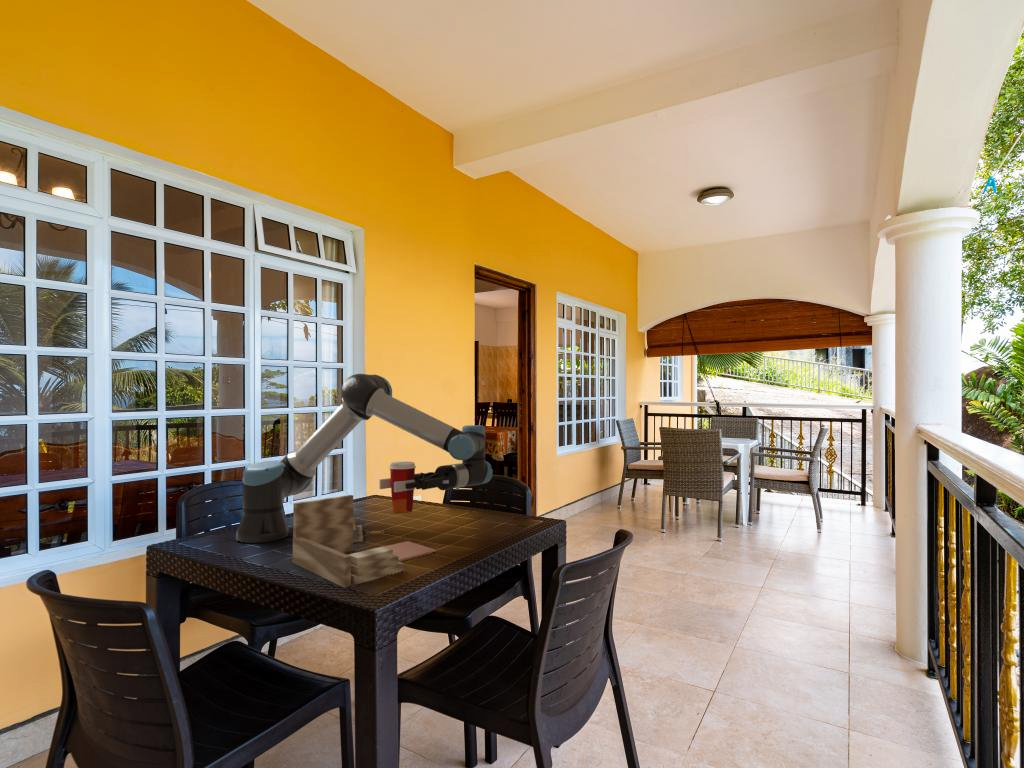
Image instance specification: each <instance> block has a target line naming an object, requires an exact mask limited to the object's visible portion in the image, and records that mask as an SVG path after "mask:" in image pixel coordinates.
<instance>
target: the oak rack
mask: <svg viewBox="0 0 1024 768" xmlns="http://www.w3.org/2000/svg"><path fill="white" fill-rule="evenodd" d="M292 504H293V507H292V508H293V514H292V515H293V517H292V519H293V522H292V523H293V526H292V527H293V529H292V530H293V533H292V564H295V566H296V565H297V566H299V567H301V568H302V569H305V570H307V571H309V572H310V573H313V574H315V575H317V576H319V577H322V578H323V579H326V580H328V581H329V582H331V583H334V584H335V585H338V586H339V587H342V588H344V589H345V588H348V587H349V588H350V587H351V585H352V584H351V556H349V555H348V554H346V553H349V552H353V551H354V543H353V518H354V494H353V495H352V494H346V495H340V496H333V497H326V498H321V499H320V498H319V499H314V500H313V499H312V500H306V501H299V502H293V503H292Z"/></svg>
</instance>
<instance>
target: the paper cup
mask: <svg viewBox="0 0 1024 768" xmlns="http://www.w3.org/2000/svg"><path fill="white" fill-rule="evenodd" d="M389 465H390V466H388V469H389V472H390V474H389V475H390V478H391V488H390V492H391V506H392V513H393V514H401V515H402V514H409V513H412V512H413V510H414V509H413V507H414V505H413V504H414V493H415V492H414V491H415V489H414V490H407V491H401V492H394V482H399V481H407V480H414V476H415V474H416V472H415V471H416V468H417V466H416V465H415V462H413V461H394V462H391V463H390V464H389Z"/></svg>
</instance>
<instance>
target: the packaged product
mask: <svg viewBox="0 0 1024 768" xmlns="http://www.w3.org/2000/svg"><path fill="white" fill-rule="evenodd" d="M363 541H364V533H363V526H362V524H360V525H359V524H358V525H357V520H356V518H355V517H353V544H354V543H363Z"/></svg>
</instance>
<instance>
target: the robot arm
mask: <svg viewBox="0 0 1024 768" xmlns="http://www.w3.org/2000/svg"><path fill="white" fill-rule="evenodd" d="M340 390H341V393H340V395H341V400H342V401H341V404H340V405H339V406H338V407H337V409H336V408H335V409H336V410H335V411H334V412H333V413H332V414H331V415H329V417H328V418H327V419H326V420H325V421H324V422H323V423H322V424H320V426H319V427H318V428H317V429H316V430H315V431H314V432H313V433H312V434H311V435H310V437H309V438H307V440H306V441H305V442H304V443H303V444H302V445H301V446H299V448H298V449H297V450H296V451H289V452H288V453H287V454H286V455H285V456H284V457H283V458H282V459H281V460H280V461H277V460H267V461H261V462H255V463H251V464H248V465H247V466H245V468H244V469H243V473H242V476H243V477H242V480H241V481H242V516H241V518H240V520H239V524H238V527H237V530H236V533H235V540H236V541H237V542H238V541H240V542H239V543H243V542H245V544H257V543H258V544H259V543H267V542H268V543H270V542H275V541H278V540H281V539H282V540H283V539H284V538H286V537H288V536H289V526H288V524H287V520H286V517H285V514H284V509H283V505H284V503H283V501H284V499H285V498H288V497H292V496H295V495H298V494H301V493H302V492H304V491H305V490H306V489H308V488H309V486H310V485H311V484H312V480H313V477H314V476H315V475H316V473H317V467H318V466H319V465H320V464H321V463H322V462H323V461H324V460H325V459H326V458H327V457H328V456H329V455H330V454H331V452H332V451H333V450H334V449H336V447H338V445H339V444H340V443H341V442H342V441H343V440H344V439H345V438H347V436H348V435H349V434H350V433H351V432H352V431H353V430H354V428H356V427H357V426H358V425H359V424H360V422H361V421H369V420H370V419H371V418H372V417H373V416H374V417H377V418H378V419H381V420H382V421H384V422H387V423H389V424H391V425H393V426H395V427H397V428H399V429H401V430H402V431H405V432H407V433H409V434H411V435H413V436H415V437H417V438H419V439H421V440H424V441H425V442H427V443H429V444H431V445H433V446H435V447H437V448H439V449H441V450H443V451H445V452H447V453H449V455H450V456H451V457H452V458H453V459H454V460H457V461H462V462H461V463H460V462H459V463H452V464H445V465H439V466H437V468H436V469H435V471H429V472H419V473H415V476H414V480H407V481H399V482H394V492H401V491H407V490H414V491H415V490H420V489H421V490H422V491H425V490H431V489H434V488H438V489H439V490H440V491H448V490H453V489H455V490H457V491H458V490H460V488H466V487H473V486H479V485H484V484H487V483H489V482H490V481H491V480H492V477H493V472H494V470H493V469H492V465H491V463H490V462H489V461H486V437H487V436H486V428H485V426H484V425H473V424H471V425H470V424H469V425H467V424H466V425H464V426H462V428H461V430H460V429H458V428H455V427H454V426H451V425H450V424H448V423H446V422H444V421H442V420H440V419H438V418H436V417H434V416H432V415H430V414H428V413H425V412H423V411H421V410H420V409H417V408H416V407H414V406H412V405H410V404H407V403H406V402H403V401H401V400H400V399H397V398H395V397H393V388H392V386H391V384H390V382H389V381H388V380H387V379H386V378H385V377H383V376H382V375H381V376H380V375H378V374H366V373H356V374H352V375H350V376H348V377H347V378H346V379H345V381H344V382H343V384H342V385H341V389H340ZM384 489H391V477H388V478H379V490H384Z"/></svg>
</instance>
